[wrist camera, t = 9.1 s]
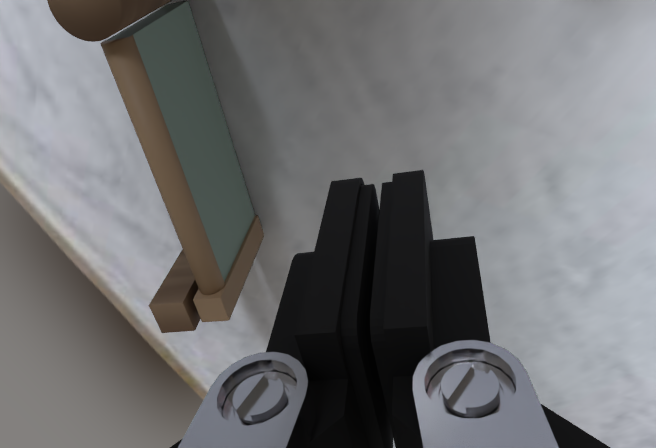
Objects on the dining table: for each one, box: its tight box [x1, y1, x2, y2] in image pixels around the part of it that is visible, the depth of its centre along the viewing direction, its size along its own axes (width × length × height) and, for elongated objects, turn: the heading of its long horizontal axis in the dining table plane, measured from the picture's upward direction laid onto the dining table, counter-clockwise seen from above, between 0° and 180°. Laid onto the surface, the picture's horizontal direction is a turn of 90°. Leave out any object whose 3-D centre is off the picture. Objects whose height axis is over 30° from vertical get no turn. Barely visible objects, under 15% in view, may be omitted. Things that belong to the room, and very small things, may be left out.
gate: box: [101, 1, 264, 322], centre depth 31 cm, size 15×2×8 cm, turn 11°
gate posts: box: [47, 0, 201, 333], centre depth 31 cm, size 19×3×9 cm, turn 5°
